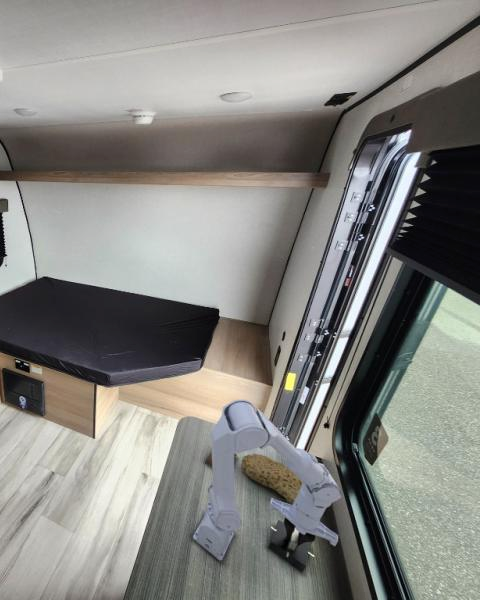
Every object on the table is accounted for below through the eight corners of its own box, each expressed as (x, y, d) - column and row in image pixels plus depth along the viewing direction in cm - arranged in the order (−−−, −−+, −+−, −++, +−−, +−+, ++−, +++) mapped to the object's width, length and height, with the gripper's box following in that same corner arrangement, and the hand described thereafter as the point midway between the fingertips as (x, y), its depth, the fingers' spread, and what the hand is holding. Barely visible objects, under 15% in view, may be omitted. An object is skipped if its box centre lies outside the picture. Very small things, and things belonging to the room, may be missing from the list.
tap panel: (306, 580, 78) (310, 573, 77) (262, 548, 84) (265, 541, 83) (313, 548, 85) (317, 541, 84) (272, 520, 91) (275, 513, 90)
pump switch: (225, 476, 104) (228, 468, 103) (205, 463, 109) (207, 455, 107) (236, 458, 111) (238, 451, 110) (216, 446, 115) (218, 439, 114)
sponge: (313, 500, 99) (257, 447, 112) (325, 490, 94) (265, 436, 107) (288, 525, 94) (233, 466, 107) (299, 516, 89) (240, 456, 102)
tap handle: (293, 552, 81) (297, 544, 79) (286, 549, 82) (291, 540, 80) (296, 533, 85) (300, 525, 84) (290, 530, 86) (294, 521, 85)
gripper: (272, 500, 79) (259, 533, 85) (344, 541, 71) (324, 575, 76) (277, 481, 84) (264, 513, 90) (344, 517, 76) (325, 550, 81)
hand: (292, 540), depth 83 cm, fingers closed on tap handle
